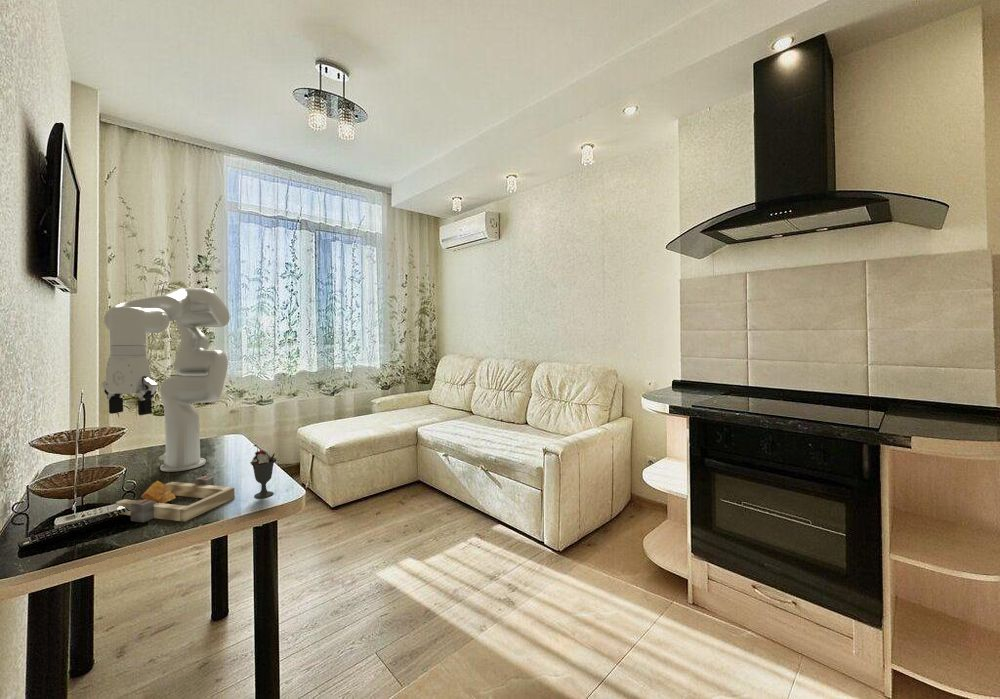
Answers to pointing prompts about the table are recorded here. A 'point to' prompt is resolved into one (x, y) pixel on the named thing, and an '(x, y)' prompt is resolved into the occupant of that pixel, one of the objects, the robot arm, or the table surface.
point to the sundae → (263, 471)
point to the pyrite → (158, 493)
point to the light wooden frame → (200, 489)
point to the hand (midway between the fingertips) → (130, 413)
